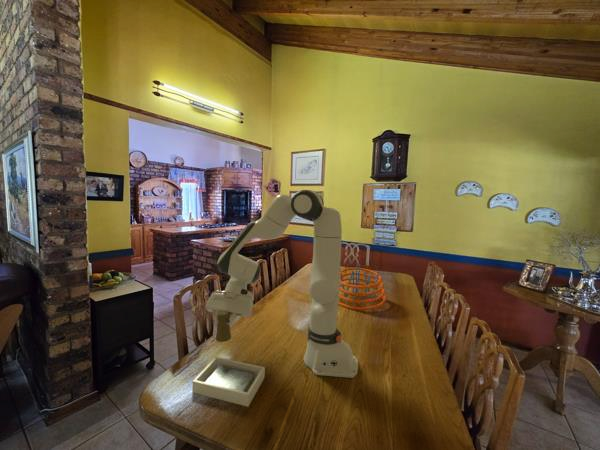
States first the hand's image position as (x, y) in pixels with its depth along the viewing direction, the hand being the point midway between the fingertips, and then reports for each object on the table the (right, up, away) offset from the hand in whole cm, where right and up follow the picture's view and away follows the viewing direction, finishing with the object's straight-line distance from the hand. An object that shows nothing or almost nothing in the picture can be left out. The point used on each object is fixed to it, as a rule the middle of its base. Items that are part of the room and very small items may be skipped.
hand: (222, 324), depth 106 cm
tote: (+7, -16, -15) cm, 23 cm away
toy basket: (+71, -12, +71) cm, 101 cm away
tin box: (+7, -15, -15) cm, 23 cm away
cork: (0, -6, +1) cm, 6 cm away
